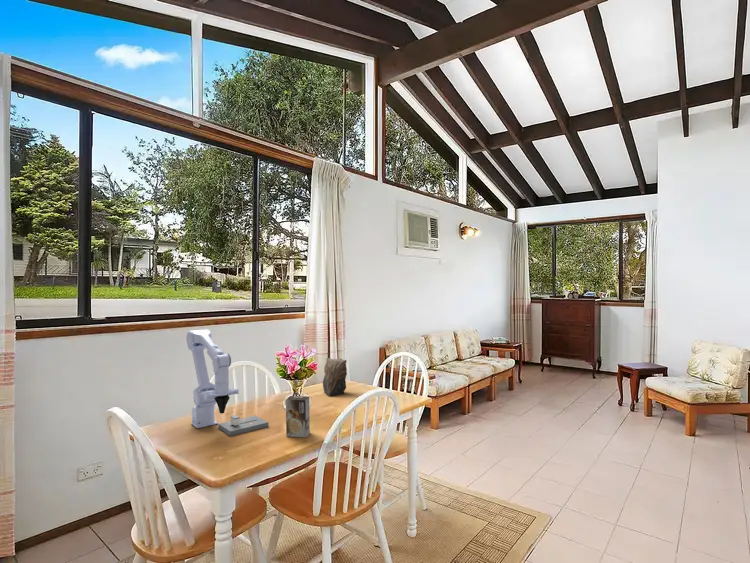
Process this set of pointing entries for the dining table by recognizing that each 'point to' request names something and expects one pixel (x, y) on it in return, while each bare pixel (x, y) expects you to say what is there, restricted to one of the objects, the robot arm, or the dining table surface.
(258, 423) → the console
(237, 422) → the fader tab
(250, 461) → the dining table surface
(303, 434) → the coffee box
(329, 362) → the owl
